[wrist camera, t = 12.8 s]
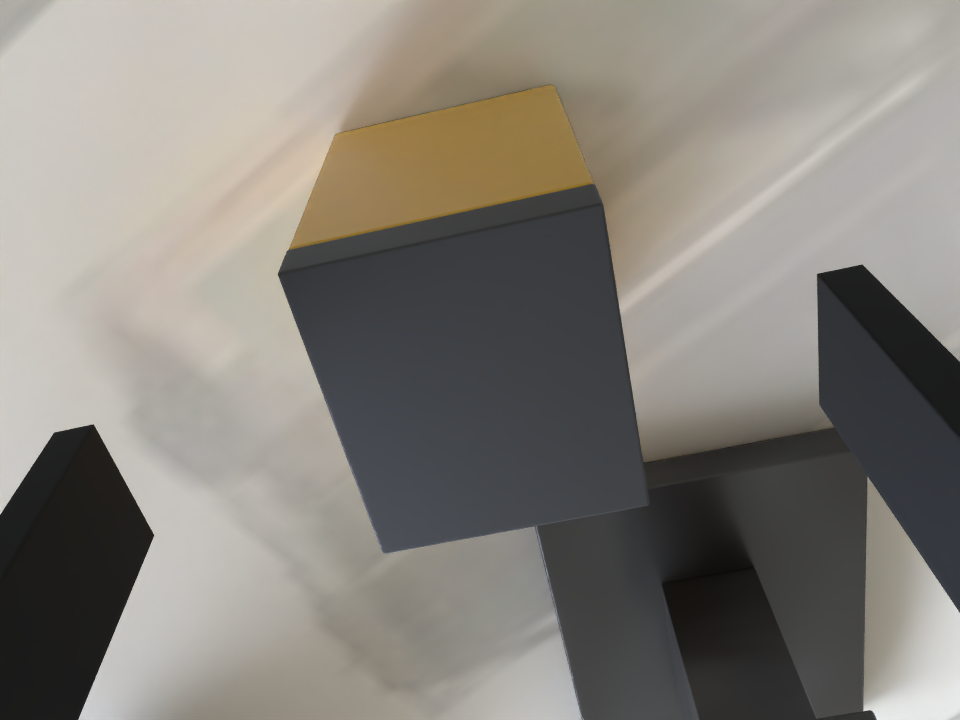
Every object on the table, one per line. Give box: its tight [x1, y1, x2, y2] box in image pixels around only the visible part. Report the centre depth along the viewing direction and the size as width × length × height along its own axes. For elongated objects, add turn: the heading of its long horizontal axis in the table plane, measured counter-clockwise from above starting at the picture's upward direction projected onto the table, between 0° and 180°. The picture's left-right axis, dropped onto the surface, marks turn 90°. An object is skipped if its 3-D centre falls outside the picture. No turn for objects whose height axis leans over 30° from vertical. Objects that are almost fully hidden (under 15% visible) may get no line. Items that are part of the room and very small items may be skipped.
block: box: [278, 85, 649, 554], centre depth 19 cm, size 6×6×8 cm
